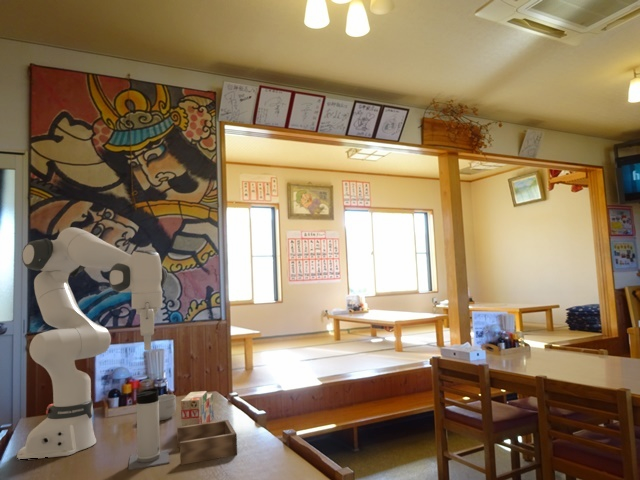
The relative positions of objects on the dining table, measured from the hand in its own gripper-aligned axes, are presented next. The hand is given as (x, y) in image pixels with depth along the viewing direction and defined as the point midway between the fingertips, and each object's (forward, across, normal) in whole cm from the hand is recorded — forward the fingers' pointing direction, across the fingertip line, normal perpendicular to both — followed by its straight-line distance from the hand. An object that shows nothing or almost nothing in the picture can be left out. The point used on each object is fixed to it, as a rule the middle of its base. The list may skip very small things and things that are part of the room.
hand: (147, 348), depth 139 cm
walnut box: (+33, 0, -16) cm, 36 cm away
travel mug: (+33, 0, 0) cm, 33 cm away
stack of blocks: (+33, +27, -17) cm, 46 cm away
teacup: (+33, +47, -5) cm, 58 cm away
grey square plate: (+33, 0, 0) cm, 33 cm away
